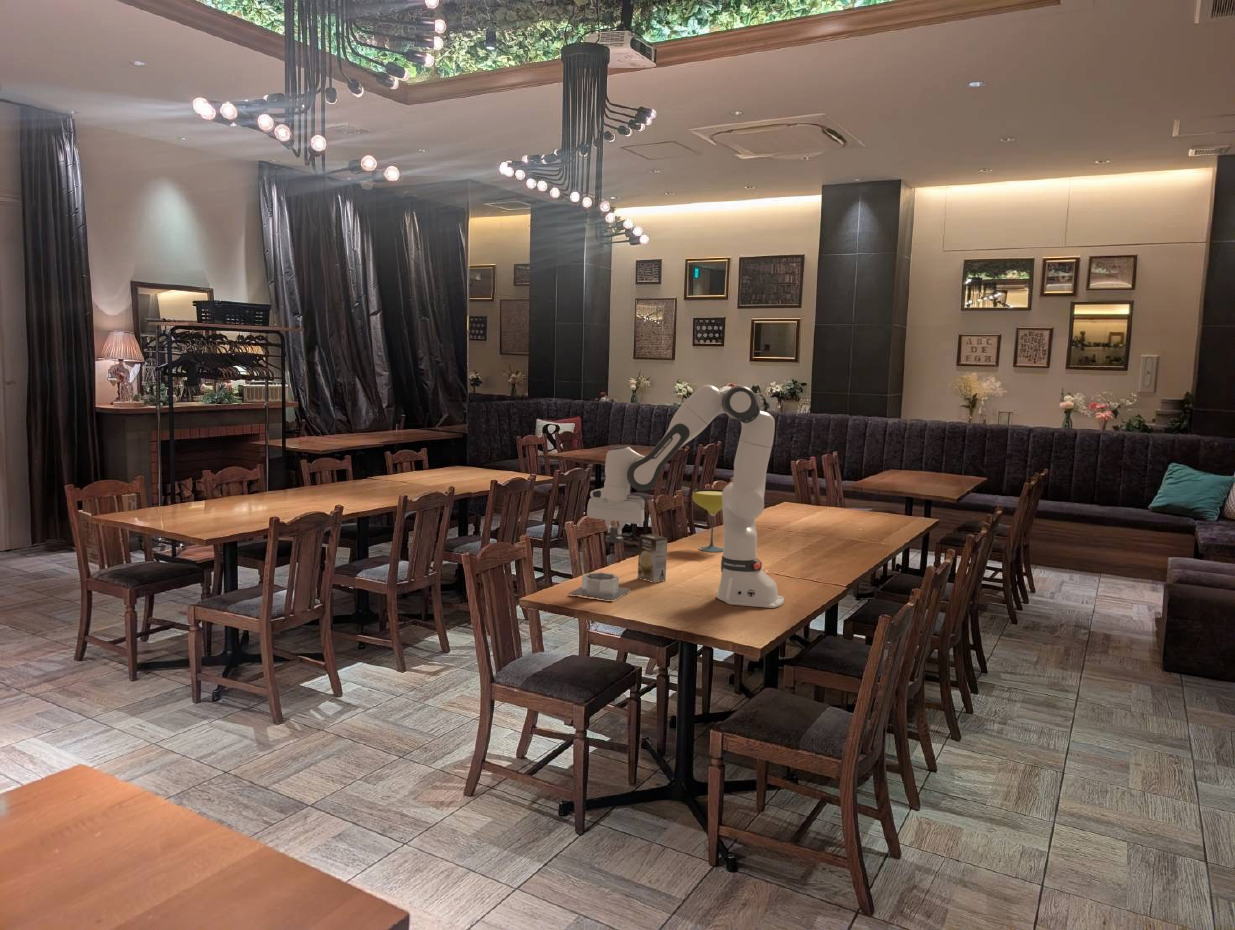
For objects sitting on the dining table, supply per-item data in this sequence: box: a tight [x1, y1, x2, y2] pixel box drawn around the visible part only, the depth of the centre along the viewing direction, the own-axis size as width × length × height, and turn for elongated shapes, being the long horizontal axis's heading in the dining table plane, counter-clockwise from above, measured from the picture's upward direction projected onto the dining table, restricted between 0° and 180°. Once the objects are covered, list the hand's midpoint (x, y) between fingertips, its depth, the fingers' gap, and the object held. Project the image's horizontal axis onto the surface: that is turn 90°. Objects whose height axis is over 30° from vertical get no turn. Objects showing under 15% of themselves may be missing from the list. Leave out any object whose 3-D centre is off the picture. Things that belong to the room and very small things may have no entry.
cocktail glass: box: [691, 488, 724, 553], centre depth 375 cm, size 18×18×25 cm
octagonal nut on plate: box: [568, 571, 632, 600], centre depth 296 cm, size 16×16×6 cm
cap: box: [605, 525, 624, 544], centre depth 298 cm, size 6×6×5 cm
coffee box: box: [637, 533, 668, 583], centre depth 318 cm, size 9×6×16 cm
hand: (614, 533), depth 298 cm, fingers closed on cap
